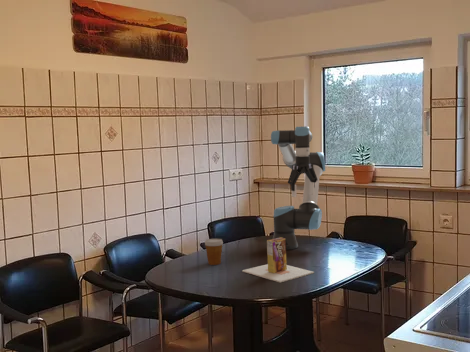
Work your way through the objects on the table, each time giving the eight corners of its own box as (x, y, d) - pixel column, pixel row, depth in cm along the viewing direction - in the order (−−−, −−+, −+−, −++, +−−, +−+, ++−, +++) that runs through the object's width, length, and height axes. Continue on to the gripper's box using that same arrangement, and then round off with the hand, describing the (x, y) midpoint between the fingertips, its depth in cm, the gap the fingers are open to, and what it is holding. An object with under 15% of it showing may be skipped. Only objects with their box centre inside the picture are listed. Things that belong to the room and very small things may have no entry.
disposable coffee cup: (209, 260, 287) (208, 238, 286) (226, 261, 284) (225, 238, 282) (202, 265, 278) (201, 241, 277) (219, 266, 275) (219, 242, 274)
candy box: (280, 268, 265) (280, 237, 264) (287, 269, 262) (286, 238, 260) (267, 271, 259) (266, 239, 258) (273, 273, 256) (272, 241, 255)
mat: (242, 271, 264) (242, 270, 264) (275, 263, 278) (275, 261, 278) (280, 282, 244) (280, 280, 244) (313, 273, 258) (313, 271, 258)
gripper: (290, 157, 279) (291, 198, 281) (323, 154, 295) (324, 193, 297) (280, 156, 285) (281, 197, 287) (313, 154, 301) (313, 192, 303)
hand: (303, 195), depth 292 cm, fingers open, 13 cm apart
